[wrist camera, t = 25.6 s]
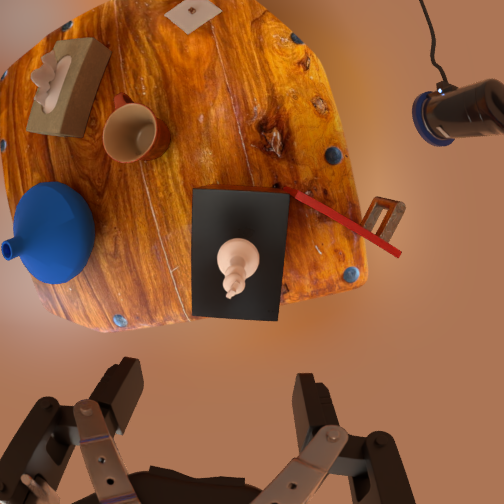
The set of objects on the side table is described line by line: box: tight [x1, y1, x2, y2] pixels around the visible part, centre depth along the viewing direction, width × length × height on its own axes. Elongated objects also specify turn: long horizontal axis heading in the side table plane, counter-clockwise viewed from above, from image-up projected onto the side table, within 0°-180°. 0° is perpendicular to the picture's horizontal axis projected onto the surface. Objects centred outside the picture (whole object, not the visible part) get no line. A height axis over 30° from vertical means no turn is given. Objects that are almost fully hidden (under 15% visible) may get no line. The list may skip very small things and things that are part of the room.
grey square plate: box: [165, 0, 222, 34], centre depth 36 cm, size 8×8×2 cm
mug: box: [102, 92, 171, 163], centre depth 38 cm, size 12×9×10 cm
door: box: [283, 186, 406, 258], centre depth 39 cm, size 7×16×15 cm, turn 63°
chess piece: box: [217, 238, 259, 299], centre depth 28 cm, size 5×5×10 cm
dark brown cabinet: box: [191, 184, 290, 321], centre depth 40 cm, size 11×16×15 cm
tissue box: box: [26, 37, 112, 138], centre depth 32 cm, size 19×10×16 cm, turn 164°
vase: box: [1, 182, 95, 284], centre depth 38 cm, size 18×18×19 cm
